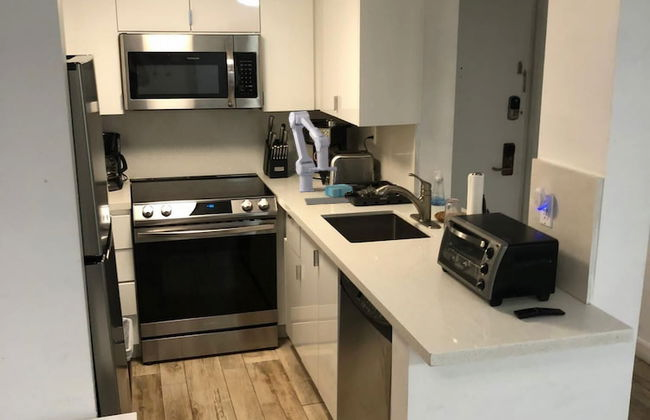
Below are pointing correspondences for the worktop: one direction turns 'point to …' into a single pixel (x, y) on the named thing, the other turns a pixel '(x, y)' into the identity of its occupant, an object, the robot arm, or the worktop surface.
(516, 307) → the worktop surface
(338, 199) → the mat
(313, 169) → the robot arm
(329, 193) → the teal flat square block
